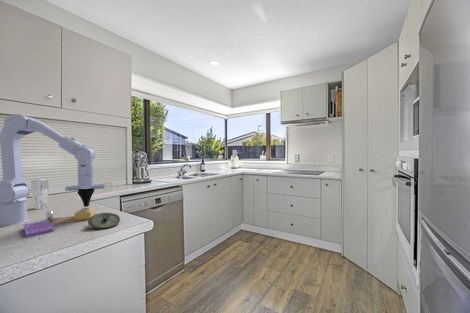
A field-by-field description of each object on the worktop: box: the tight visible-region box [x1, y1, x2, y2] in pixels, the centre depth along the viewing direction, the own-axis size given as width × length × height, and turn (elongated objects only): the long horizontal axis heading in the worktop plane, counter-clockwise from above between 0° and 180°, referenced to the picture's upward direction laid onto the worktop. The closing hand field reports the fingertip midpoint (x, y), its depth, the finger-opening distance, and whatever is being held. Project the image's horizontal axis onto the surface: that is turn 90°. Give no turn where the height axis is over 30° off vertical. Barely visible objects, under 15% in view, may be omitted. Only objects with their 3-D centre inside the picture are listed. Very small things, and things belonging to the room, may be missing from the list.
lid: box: [87, 212, 121, 230], centre depth 81 cm, size 11×10×5 cm
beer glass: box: [30, 178, 50, 210], centre depth 112 cm, size 7×7×15 cm
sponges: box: [23, 218, 55, 238], centre depth 75 cm, size 7×13×2 cm, turn 48°
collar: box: [73, 208, 95, 221], centre depth 90 cm, size 6×6×3 cm
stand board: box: [44, 207, 97, 226], centre depth 88 cm, size 19×10×5 cm, turn 110°
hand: (86, 206), depth 92 cm, fingers closed
